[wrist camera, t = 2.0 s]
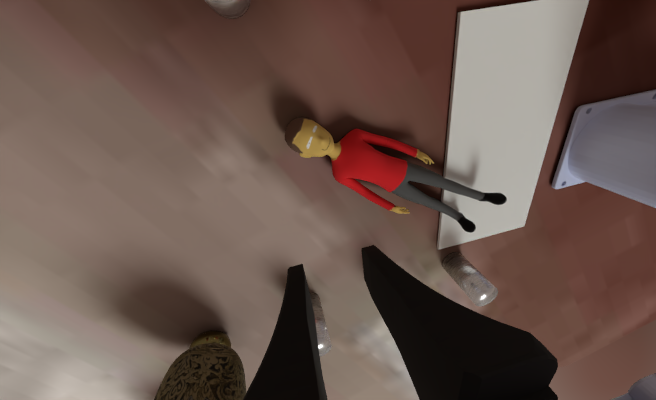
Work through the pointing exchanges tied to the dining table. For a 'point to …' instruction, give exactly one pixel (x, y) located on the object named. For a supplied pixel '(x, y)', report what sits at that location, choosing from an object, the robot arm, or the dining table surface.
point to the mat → (504, 108)
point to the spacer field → (234, 4)
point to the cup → (205, 372)
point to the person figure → (380, 168)
